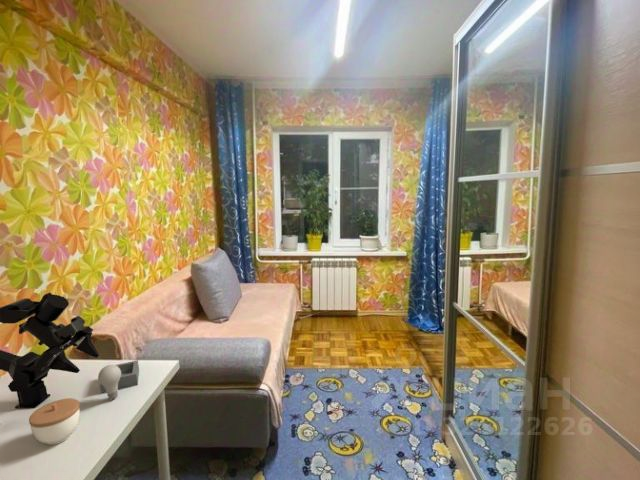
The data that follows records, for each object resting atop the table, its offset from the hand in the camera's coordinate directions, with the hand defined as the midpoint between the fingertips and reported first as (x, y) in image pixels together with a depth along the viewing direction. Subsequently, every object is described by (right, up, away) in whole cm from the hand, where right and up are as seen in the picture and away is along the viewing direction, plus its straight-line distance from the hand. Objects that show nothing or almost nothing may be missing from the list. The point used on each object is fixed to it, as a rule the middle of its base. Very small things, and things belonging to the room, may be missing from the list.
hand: (88, 363), depth 110 cm
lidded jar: (+1, -15, -14) cm, 20 cm away
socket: (+3, -10, +12) cm, 16 cm away
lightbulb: (+6, -12, +2) cm, 14 cm away
